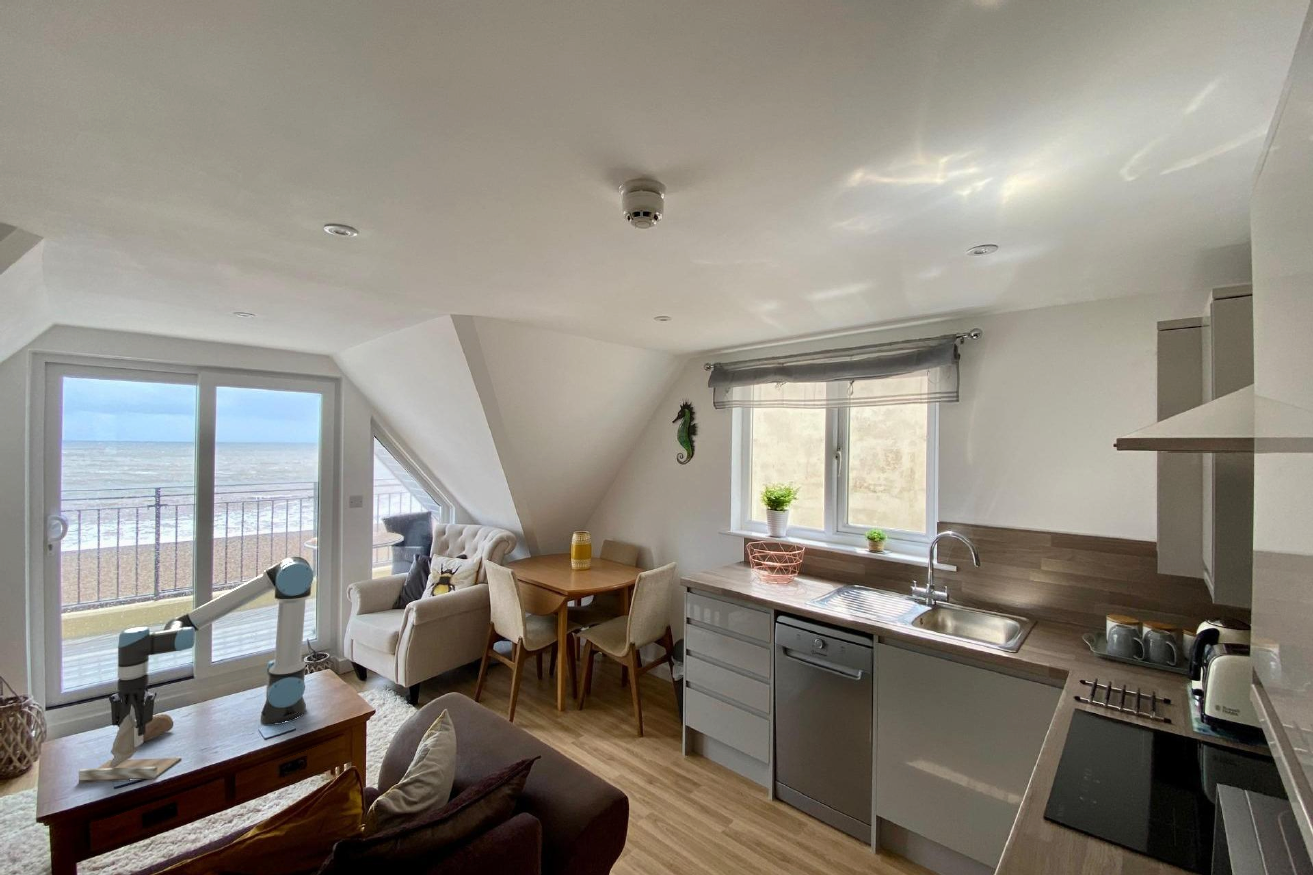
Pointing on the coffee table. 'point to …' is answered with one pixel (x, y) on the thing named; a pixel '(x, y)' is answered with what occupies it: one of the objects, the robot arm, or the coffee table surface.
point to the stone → (157, 726)
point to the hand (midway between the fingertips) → (132, 744)
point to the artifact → (124, 742)
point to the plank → (128, 770)
